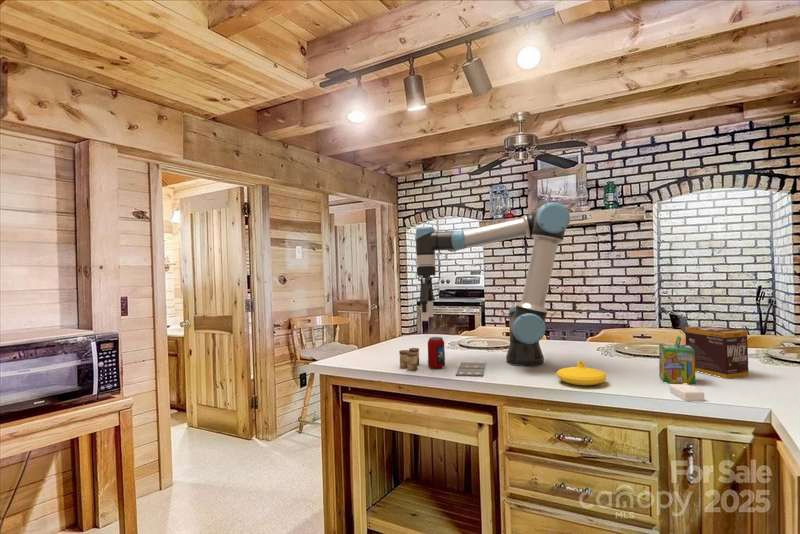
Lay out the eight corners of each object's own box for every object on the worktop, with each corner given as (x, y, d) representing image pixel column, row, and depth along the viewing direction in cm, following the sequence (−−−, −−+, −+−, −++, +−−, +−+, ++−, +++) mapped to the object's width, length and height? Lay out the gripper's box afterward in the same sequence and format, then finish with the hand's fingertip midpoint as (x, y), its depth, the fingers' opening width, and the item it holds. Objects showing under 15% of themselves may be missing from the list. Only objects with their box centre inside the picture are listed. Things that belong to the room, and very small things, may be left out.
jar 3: (418, 369, 177) (418, 352, 177) (416, 371, 173) (416, 354, 173) (408, 368, 178) (407, 351, 178) (406, 371, 174) (405, 353, 174)
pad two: (485, 364, 182) (485, 362, 182) (484, 369, 172) (484, 367, 172) (460, 363, 184) (460, 361, 184) (458, 369, 174) (458, 367, 174)
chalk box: (659, 376, 154) (657, 334, 154) (690, 378, 150) (688, 334, 150) (663, 383, 145) (662, 338, 145) (696, 385, 142) (695, 339, 142)
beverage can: (444, 369, 174) (443, 339, 174) (427, 369, 176) (426, 339, 176) (445, 365, 181) (444, 336, 181) (429, 365, 182) (428, 336, 182)
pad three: (484, 370, 171) (484, 368, 171) (482, 376, 161) (482, 374, 161) (458, 369, 173) (458, 367, 173) (455, 375, 164) (455, 373, 164)
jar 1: (410, 366, 182) (410, 350, 182) (408, 368, 178) (408, 352, 178) (401, 366, 183) (400, 350, 183) (398, 368, 179) (398, 351, 179)
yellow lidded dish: (548, 384, 149) (547, 363, 149) (569, 375, 160) (568, 355, 160) (595, 392, 138) (595, 369, 138) (614, 382, 149) (613, 361, 149)
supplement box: (726, 379, 148) (725, 332, 148) (685, 369, 162) (684, 327, 162) (750, 376, 150) (748, 330, 150) (707, 367, 165) (706, 325, 165)
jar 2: (420, 364, 186) (419, 348, 186) (418, 366, 182) (417, 349, 182) (410, 363, 187) (410, 347, 187) (408, 366, 183) (408, 349, 183)
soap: (705, 402, 125) (705, 391, 125) (685, 402, 126) (685, 391, 126) (688, 393, 134) (687, 383, 134) (669, 393, 135) (668, 383, 135)
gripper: (421, 266, 190) (423, 315, 189) (410, 266, 165) (412, 322, 165) (439, 265, 188) (440, 315, 188) (430, 265, 164) (432, 322, 163)
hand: (427, 318), depth 176 cm, fingers open, 13 cm apart
